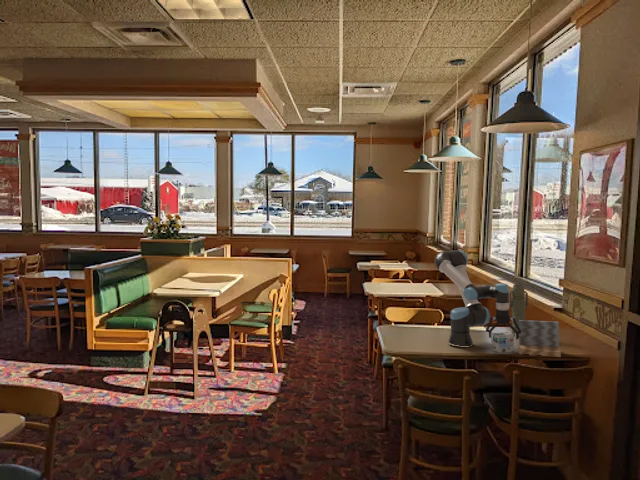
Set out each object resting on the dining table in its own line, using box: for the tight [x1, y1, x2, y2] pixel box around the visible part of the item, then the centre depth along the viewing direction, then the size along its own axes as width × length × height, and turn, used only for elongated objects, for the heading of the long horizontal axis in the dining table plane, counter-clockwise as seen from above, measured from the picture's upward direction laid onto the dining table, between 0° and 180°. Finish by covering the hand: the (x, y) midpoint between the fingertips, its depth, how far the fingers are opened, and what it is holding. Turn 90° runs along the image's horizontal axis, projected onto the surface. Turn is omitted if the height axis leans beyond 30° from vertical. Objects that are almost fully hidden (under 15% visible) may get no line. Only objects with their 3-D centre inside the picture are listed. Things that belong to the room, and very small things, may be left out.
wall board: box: [518, 319, 562, 358], centre depth 285 cm, size 22×12×18 cm, turn 68°
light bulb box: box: [492, 331, 515, 354], centre depth 292 cm, size 11×7×11 cm, turn 101°
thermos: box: [509, 283, 529, 338], centre depth 324 cm, size 9×12×35 cm
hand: (503, 343), depth 291 cm, fingers open, 13 cm apart
